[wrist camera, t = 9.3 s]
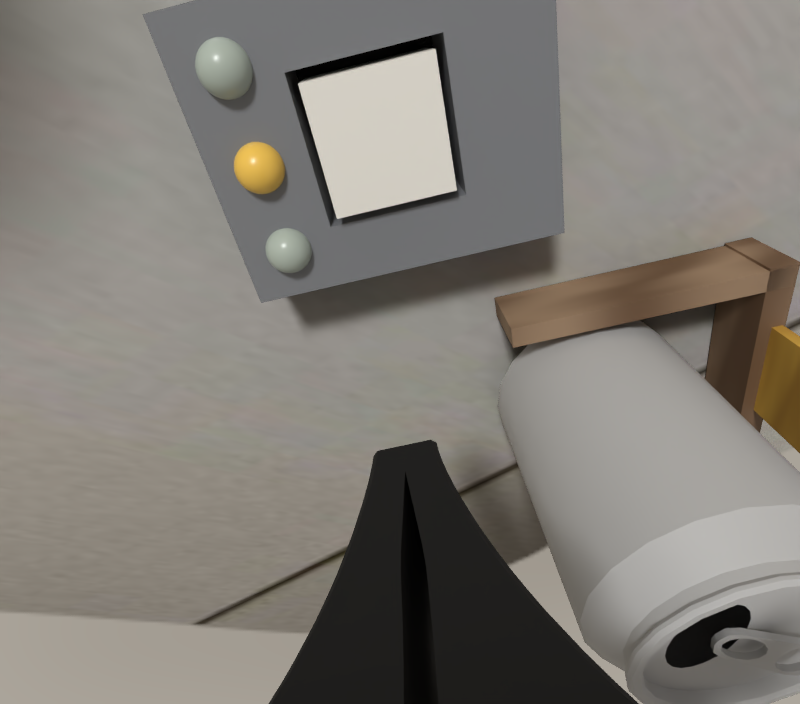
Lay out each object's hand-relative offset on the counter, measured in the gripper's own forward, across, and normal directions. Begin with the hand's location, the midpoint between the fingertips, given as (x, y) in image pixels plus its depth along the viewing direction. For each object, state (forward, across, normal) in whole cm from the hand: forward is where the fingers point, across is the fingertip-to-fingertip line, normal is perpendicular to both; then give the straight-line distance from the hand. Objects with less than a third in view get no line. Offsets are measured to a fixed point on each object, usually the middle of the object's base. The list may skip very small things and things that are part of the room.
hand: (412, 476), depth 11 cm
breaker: (+9, -1, -6) cm, 11 cm away
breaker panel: (+9, -1, -6) cm, 11 cm away
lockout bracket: (+9, -9, +5) cm, 14 cm away
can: (+10, -7, +6) cm, 13 cm away
